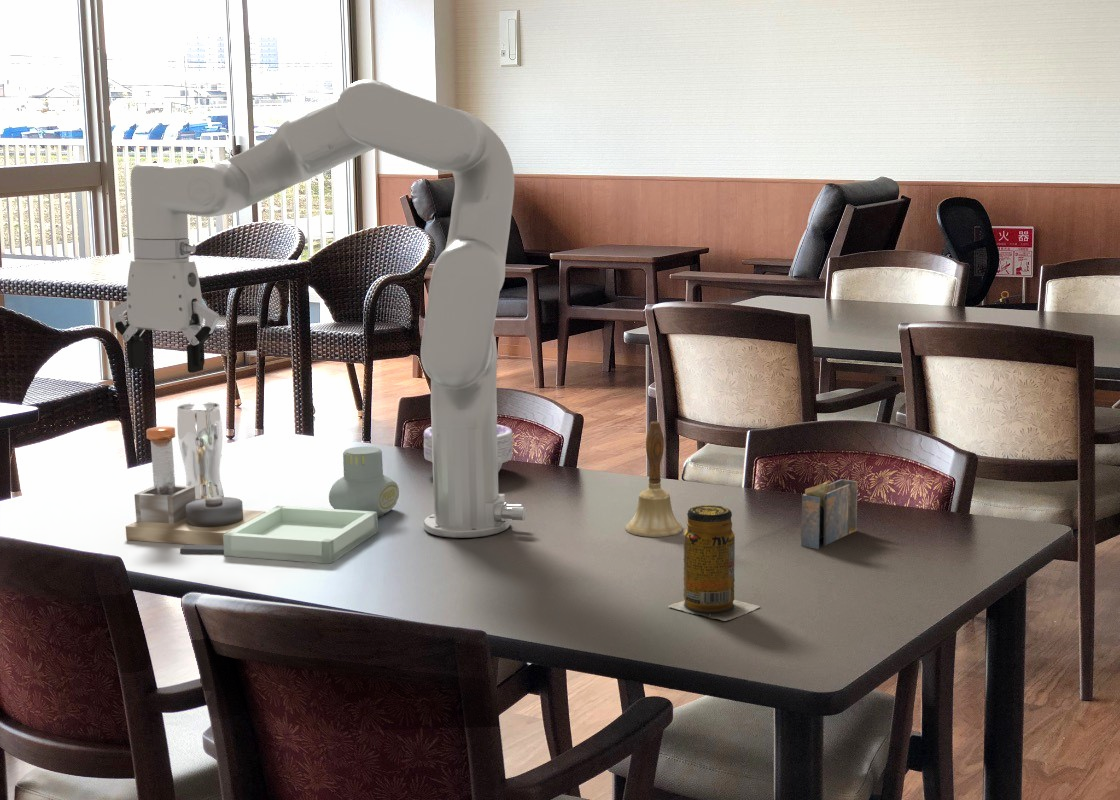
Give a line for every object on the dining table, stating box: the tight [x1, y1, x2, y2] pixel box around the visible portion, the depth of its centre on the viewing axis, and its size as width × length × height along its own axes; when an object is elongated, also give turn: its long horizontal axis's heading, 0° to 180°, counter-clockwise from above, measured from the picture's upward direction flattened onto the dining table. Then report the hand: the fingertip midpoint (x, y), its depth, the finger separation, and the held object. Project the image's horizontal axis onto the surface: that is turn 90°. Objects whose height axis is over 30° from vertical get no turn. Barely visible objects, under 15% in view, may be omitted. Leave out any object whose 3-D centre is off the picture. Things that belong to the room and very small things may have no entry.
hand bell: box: [625, 420, 684, 538], centre depth 195 cm, size 8×8×16 cm
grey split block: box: [800, 478, 859, 550], centre depth 189 cm, size 11×3×10 cm, turn 141°
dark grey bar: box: [179, 544, 224, 555], centre depth 188 cm, size 14×2×1 cm, turn 84°
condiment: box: [667, 504, 761, 622], centre depth 161 cm, size 7×8×12 cm
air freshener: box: [328, 446, 400, 518], centre depth 206 cm, size 11×8×10 cm
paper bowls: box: [423, 423, 514, 473], centre depth 231 cm, size 15×15×8 cm
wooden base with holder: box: [125, 485, 267, 545], centre depth 198 cm, size 16×12×6 cm
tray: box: [223, 505, 379, 564], centre depth 191 cm, size 16×16×3 cm
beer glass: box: [176, 401, 225, 500], centre depth 218 cm, size 7×7×15 cm
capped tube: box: [146, 426, 176, 495], centre depth 198 cm, size 4×4×13 cm
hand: (166, 369), depth 196 cm, fingers open, 9 cm apart
